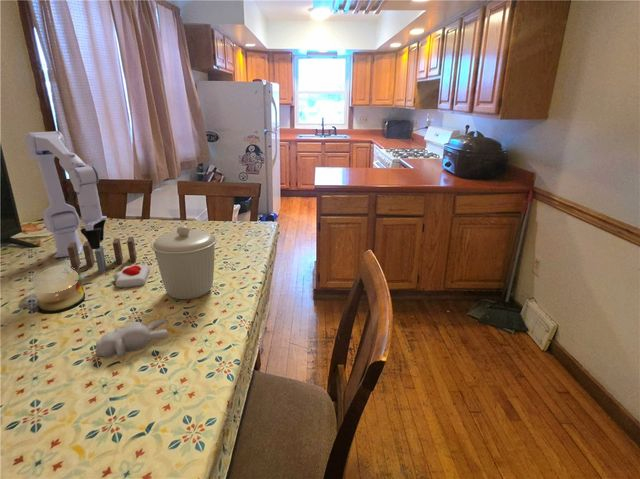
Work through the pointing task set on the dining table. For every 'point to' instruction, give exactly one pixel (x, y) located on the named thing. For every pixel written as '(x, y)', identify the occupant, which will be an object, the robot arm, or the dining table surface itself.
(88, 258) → the domino
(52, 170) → the robot arm
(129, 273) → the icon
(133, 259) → the domino
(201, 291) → the canister
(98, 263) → the loose domino
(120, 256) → the domino
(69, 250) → the domino
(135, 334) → the bunny figurine
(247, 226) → the dining table surface
